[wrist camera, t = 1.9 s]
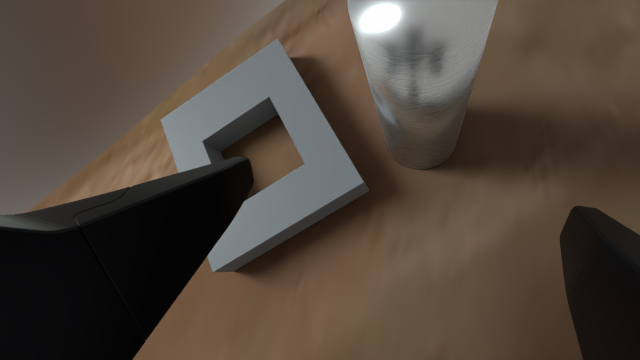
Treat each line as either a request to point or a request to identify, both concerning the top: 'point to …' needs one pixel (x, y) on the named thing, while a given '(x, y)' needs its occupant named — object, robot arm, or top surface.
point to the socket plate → (242, 118)
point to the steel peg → (421, 70)
